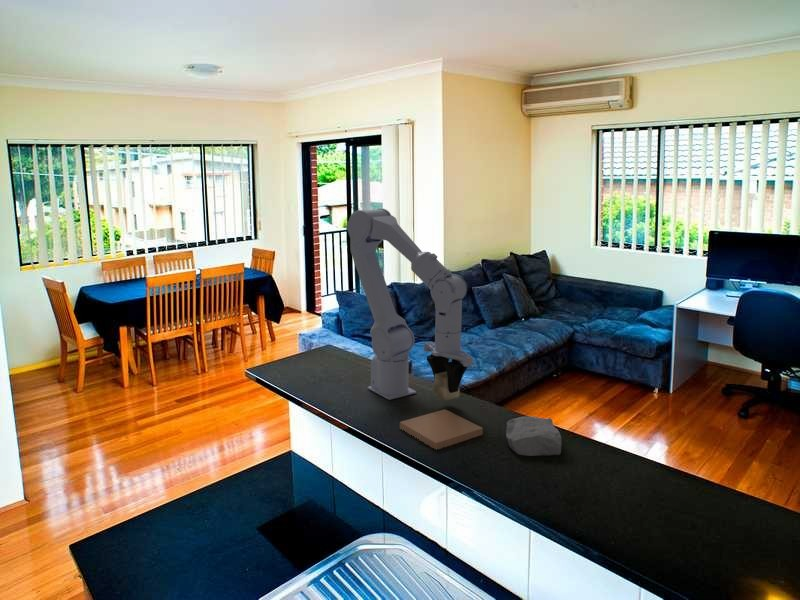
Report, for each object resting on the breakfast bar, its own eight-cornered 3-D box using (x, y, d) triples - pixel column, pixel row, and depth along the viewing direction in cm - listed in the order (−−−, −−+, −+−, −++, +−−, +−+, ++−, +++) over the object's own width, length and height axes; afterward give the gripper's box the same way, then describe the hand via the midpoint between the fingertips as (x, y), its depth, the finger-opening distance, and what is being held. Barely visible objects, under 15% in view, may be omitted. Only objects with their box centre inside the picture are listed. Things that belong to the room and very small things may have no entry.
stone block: (513, 465, 113) (566, 456, 112) (509, 441, 112) (562, 432, 111) (504, 440, 124) (551, 431, 124) (500, 418, 124) (548, 409, 123)
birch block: (434, 395, 136) (434, 374, 135) (447, 391, 139) (448, 370, 138) (445, 400, 133) (446, 379, 132) (459, 396, 136) (459, 375, 134)
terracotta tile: (399, 431, 124) (399, 422, 124) (444, 417, 131) (444, 409, 131) (436, 452, 115) (436, 442, 114) (482, 437, 121) (482, 427, 121)
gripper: (413, 326, 136) (413, 383, 139) (455, 340, 125) (454, 402, 128) (438, 321, 140) (437, 377, 143) (480, 335, 129) (478, 395, 132)
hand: (446, 388), depth 136 cm, fingers closed on birch block, 4 cm apart
